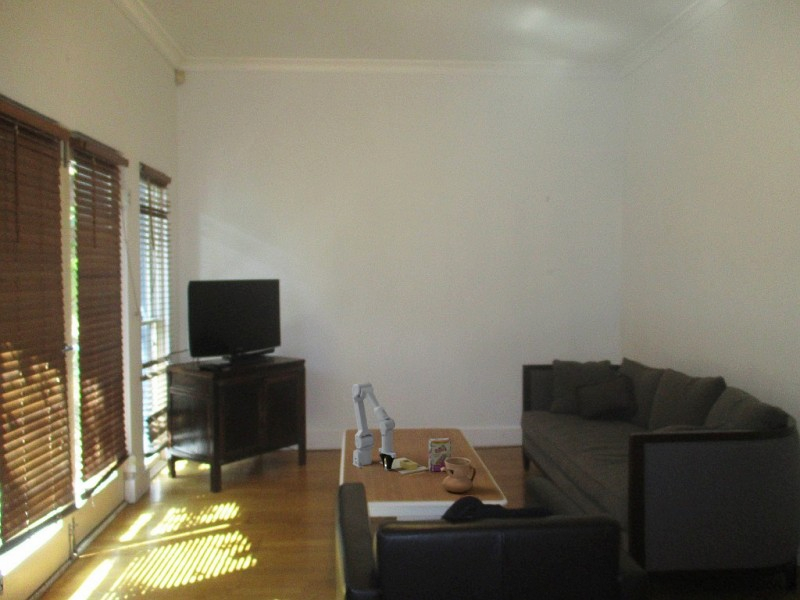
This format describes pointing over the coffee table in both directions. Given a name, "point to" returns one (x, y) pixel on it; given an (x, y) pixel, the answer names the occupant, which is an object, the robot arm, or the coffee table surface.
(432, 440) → the candy bar box
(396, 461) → the subfloor board
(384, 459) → the banded metal canister
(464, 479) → the ceramic jug
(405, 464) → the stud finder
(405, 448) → the coffee table surface
